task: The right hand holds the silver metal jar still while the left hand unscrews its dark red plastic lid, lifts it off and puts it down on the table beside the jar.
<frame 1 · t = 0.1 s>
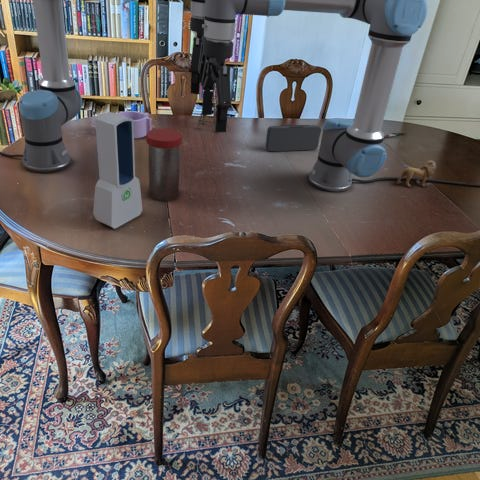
left hand: (199, 88, 153), 28 cm above the table, tool pointing down, fingers open, 13 cm apart
right hand: (213, 122, 127), 28 cm above the table, tool pointing down, fingers open, 13 cm apart
miniature windmill: (208, 127, 204), on the table
jar: (164, 194, 149), on the table
sword: (384, 139, 213), on the table
lid: (164, 135, 139), point 20 cm above the table, screwed on, not yet turned
clip: (125, 133, 190), on the table
electronic device: (118, 218, 134), on the table
lion figurine: (412, 184, 174), on the table
handheld gaming console: (291, 150, 191), on the table
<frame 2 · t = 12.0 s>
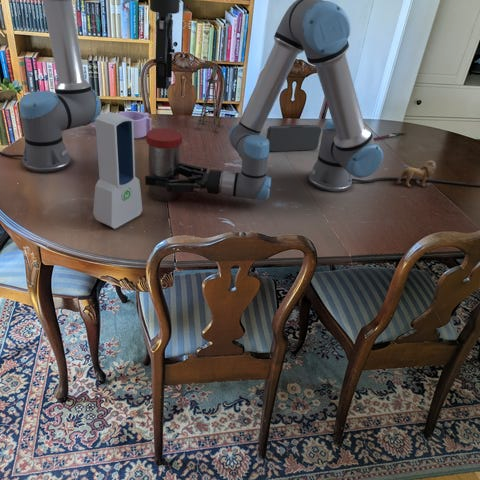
left hand: (164, 82, 130), 35 cm above the table, tool pointing down, fingers open, 11 cm apart
right hand: (150, 173, 146), 7 cm above the table, tool horizontal, fingers closed on jar, 9 cm apart
jar: (164, 194, 149), on the table, touching right hand
everything else where it was.
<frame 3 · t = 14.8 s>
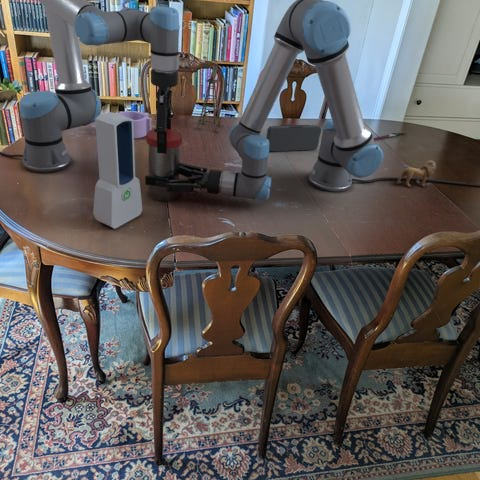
left hand: (164, 145, 140), 16 cm above the table, tool pointing down, fingers closed on lid, 10 cm apart
right hand: (150, 173, 146), 7 cm above the table, tool horizontal, fingers closed on jar, 9 cm apart
jar: (164, 194, 149), on the table, touching right hand
lid: (164, 135, 139), point 20 cm above the table, screwed on, not yet turned, touching left hand
everything else where it was.
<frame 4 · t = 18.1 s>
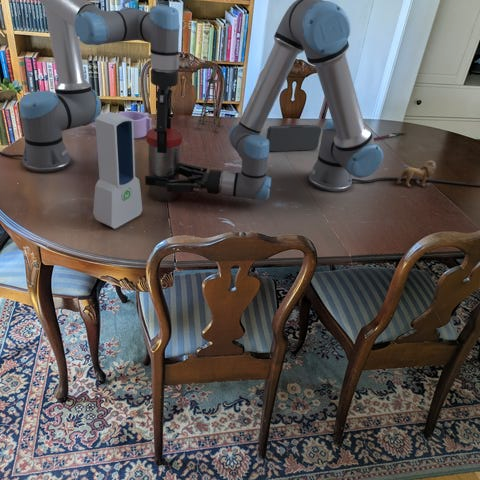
left hand: (164, 145, 140), 17 cm above the table, tool pointing down, fingers closed on lid, 10 cm apart
right hand: (150, 173, 146), 7 cm above the table, tool horizontal, fingers closed on jar, 9 cm apart
jar: (164, 194, 149), on the table, touching right hand
lid: (164, 135, 138), point 20 cm above the table, turned 97° so far, risen 0.1 cm, still on its thread, touching left hand
everything else where it was.
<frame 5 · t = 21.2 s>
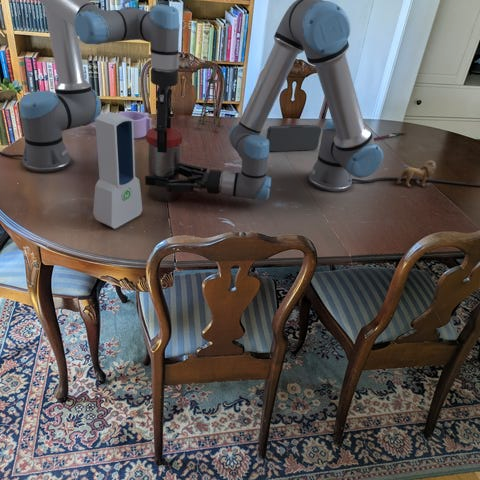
left hand: (164, 144, 140), 17 cm above the table, tool pointing down, fingers closed on lid, 10 cm apart
right hand: (150, 173, 146), 7 cm above the table, tool horizontal, fingers closed on jar, 9 cm apart
jar: (164, 194, 149), on the table, touching right hand
lid: (164, 134, 138), point 20 cm above the table, turned 195° so far, risen 0.3 cm, still on its thread, touching left hand
everything else where it was.
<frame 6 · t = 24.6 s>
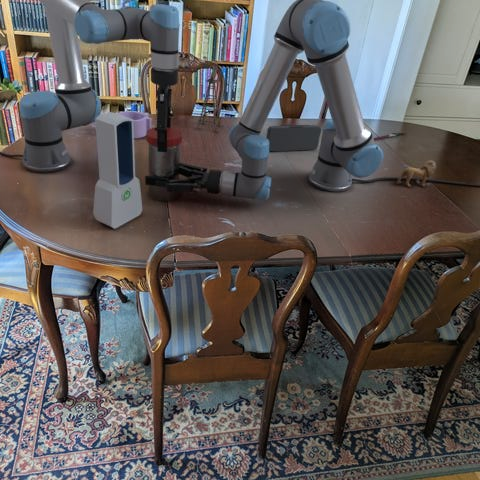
left hand: (164, 144, 140), 17 cm above the table, tool pointing down, fingers closed on lid, 10 cm apart
right hand: (150, 173, 146), 7 cm above the table, tool horizontal, fingers closed on jar, 9 cm apart
jar: (164, 194, 149), on the table, touching right hand
lid: (164, 134, 138), point 20 cm above the table, turned 292° so far, risen 0.5 cm, still on its thread, touching left hand
everything else where it was.
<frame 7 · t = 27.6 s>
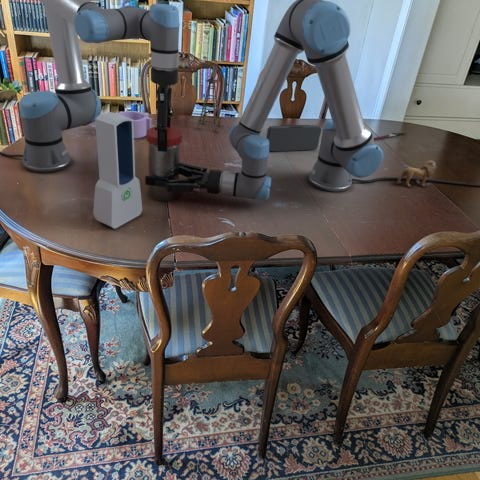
left hand: (164, 143, 140), 17 cm above the table, tool pointing down, fingers closed on lid, 10 cm apart
right hand: (150, 173, 146), 7 cm above the table, tool horizontal, fingers closed on jar, 9 cm apart
jar: (164, 194, 149), on the table, touching right hand
lid: (164, 133, 138), point 20 cm above the table, turned 389° so far, risen 0.6 cm, still on its thread, touching left hand
everything else where it was.
when the left hand's fingers open (0 cm above the table, at t = 35.4 s): lid drops 1 cm, point 2 cm above the table.
when the right hand's fingers open (7 cm above the table, at t = 36.4 s): jar stays where it is, on the table.
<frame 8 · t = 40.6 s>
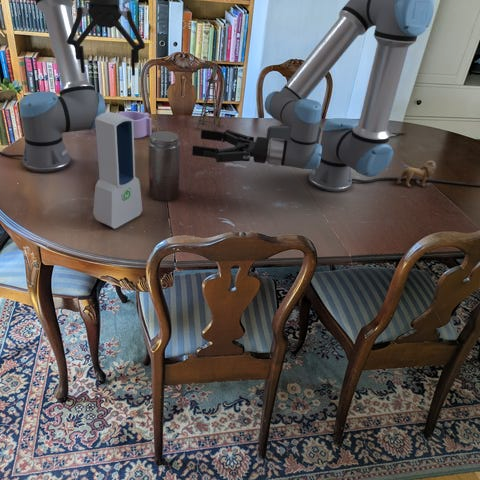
left hand: (108, 73, 131), 36 cm above the table, tool pointing down, fingers open, 13 cm apart
right hand: (196, 141, 138), 19 cm above the table, tool horizontal, fingers open, 13 cm apart
jar: (164, 194, 149), on the table
lid: (115, 182, 149), point 2 cm above the table, off its thread
everything else where it was.
at the end: lid came off its thread; lid point 2.0 cm above the table; the left hand is holding nothing; the right hand is holding nothing; jar tilted 0°; jar moved 0.0 cm from its start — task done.
